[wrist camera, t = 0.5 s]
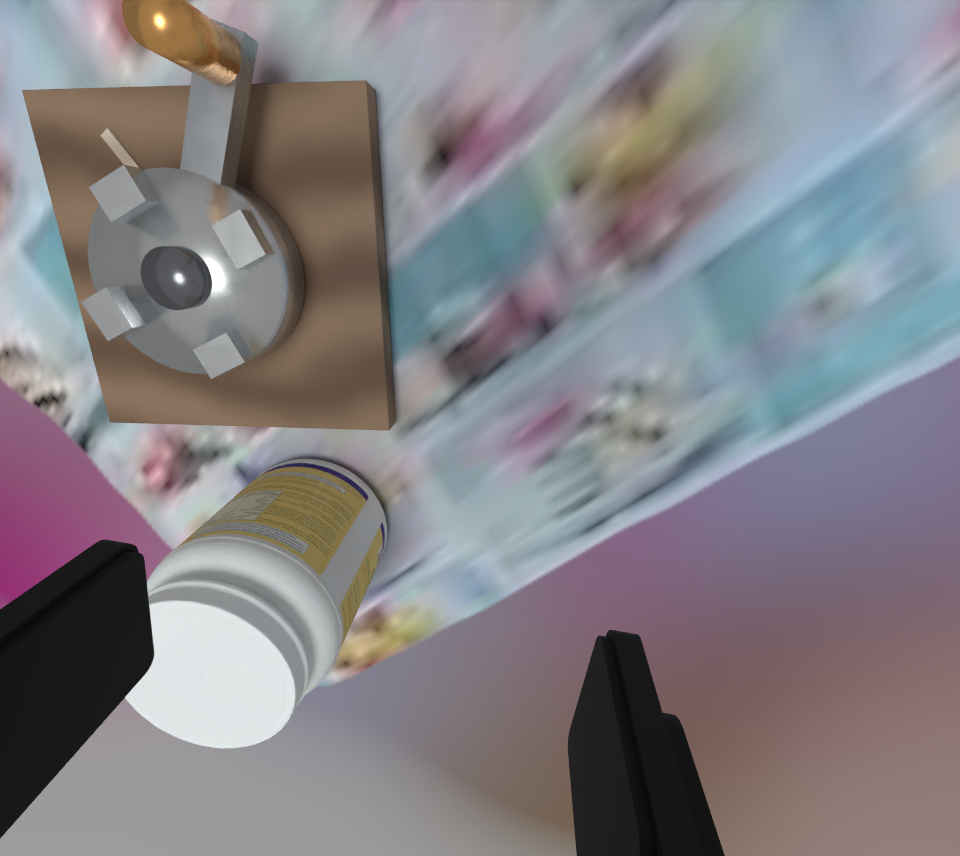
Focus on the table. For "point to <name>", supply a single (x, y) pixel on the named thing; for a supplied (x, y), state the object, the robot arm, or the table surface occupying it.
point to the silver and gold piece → (194, 219)
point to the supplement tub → (259, 604)
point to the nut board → (302, 207)
